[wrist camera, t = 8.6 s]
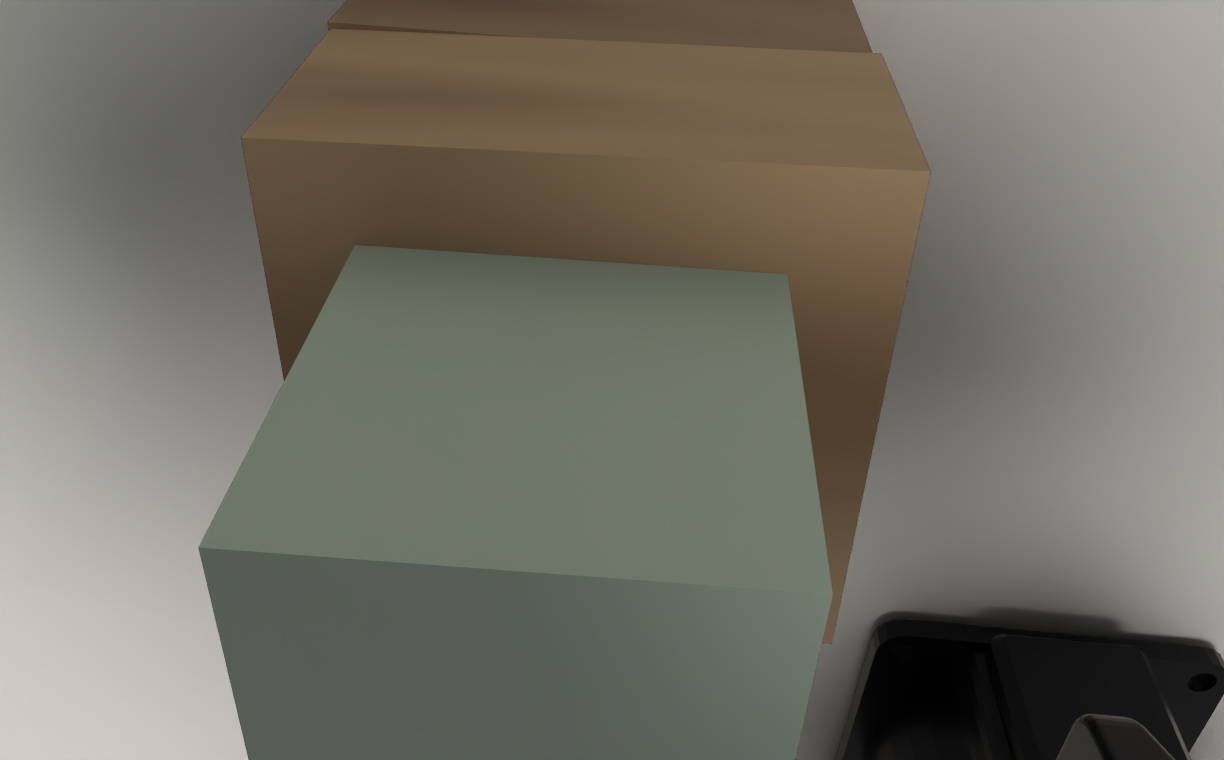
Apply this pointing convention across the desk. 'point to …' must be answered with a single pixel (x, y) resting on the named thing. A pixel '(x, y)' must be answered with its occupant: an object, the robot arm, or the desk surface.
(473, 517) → the sage block
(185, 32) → the desk surface
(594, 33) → the block
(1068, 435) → the desk surface
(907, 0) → the desk surface
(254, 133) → the brown square block
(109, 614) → the desk surface
